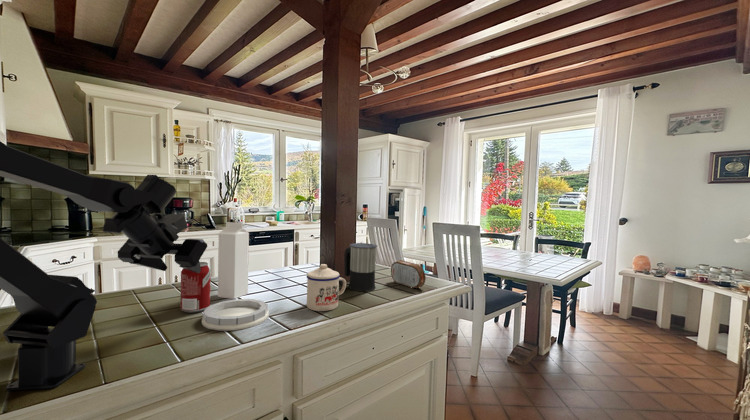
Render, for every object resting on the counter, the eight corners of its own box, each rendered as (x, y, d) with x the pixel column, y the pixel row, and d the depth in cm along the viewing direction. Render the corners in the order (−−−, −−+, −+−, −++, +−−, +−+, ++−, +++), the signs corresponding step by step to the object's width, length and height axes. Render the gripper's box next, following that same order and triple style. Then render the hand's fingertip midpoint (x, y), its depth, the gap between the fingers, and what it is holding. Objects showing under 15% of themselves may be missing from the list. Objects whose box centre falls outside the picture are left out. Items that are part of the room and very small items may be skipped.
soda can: (197, 315, 78) (197, 267, 78) (173, 312, 80) (174, 265, 79) (215, 306, 85) (216, 262, 84) (194, 304, 86) (194, 260, 86)
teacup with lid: (315, 314, 81) (316, 269, 81) (300, 304, 88) (301, 263, 88) (353, 305, 89) (355, 264, 88) (337, 297, 96) (338, 259, 95)
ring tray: (262, 329, 71) (262, 318, 71) (190, 331, 69) (190, 320, 69) (273, 306, 86) (273, 297, 86) (214, 308, 83) (214, 299, 83)
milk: (231, 291, 99) (233, 221, 98) (248, 293, 97) (249, 222, 96) (217, 297, 93) (218, 222, 92) (234, 299, 91) (235, 223, 91)
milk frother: (380, 287, 109) (382, 244, 108) (355, 299, 95) (356, 250, 95) (347, 281, 116) (348, 240, 115) (318, 290, 102) (320, 245, 102)
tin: (425, 290, 107) (426, 265, 107) (419, 291, 105) (420, 266, 105) (395, 280, 118) (395, 258, 118) (388, 281, 116) (389, 259, 116)
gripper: (202, 203, 70) (231, 246, 81) (129, 201, 73) (167, 242, 84) (174, 243, 62) (210, 284, 74) (94, 239, 65) (141, 278, 77)
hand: (182, 270), depth 77 cm, fingers open, 9 cm apart
